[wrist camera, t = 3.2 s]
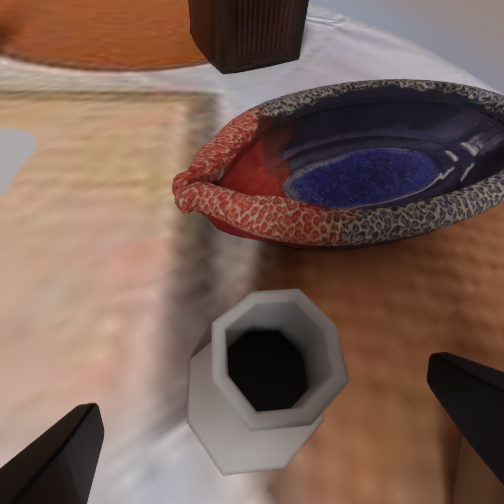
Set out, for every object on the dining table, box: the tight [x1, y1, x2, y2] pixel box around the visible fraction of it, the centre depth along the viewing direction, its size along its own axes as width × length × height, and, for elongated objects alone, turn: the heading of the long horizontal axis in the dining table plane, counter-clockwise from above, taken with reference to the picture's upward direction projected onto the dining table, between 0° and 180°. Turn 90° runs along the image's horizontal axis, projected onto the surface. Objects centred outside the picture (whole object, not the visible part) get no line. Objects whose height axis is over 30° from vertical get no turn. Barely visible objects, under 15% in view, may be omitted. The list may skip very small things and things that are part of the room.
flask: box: [187, 289, 349, 476], centre depth 11 cm, size 7×7×10 cm
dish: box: [172, 79, 504, 251], centre depth 22 cm, size 16×31×5 cm, turn 108°
